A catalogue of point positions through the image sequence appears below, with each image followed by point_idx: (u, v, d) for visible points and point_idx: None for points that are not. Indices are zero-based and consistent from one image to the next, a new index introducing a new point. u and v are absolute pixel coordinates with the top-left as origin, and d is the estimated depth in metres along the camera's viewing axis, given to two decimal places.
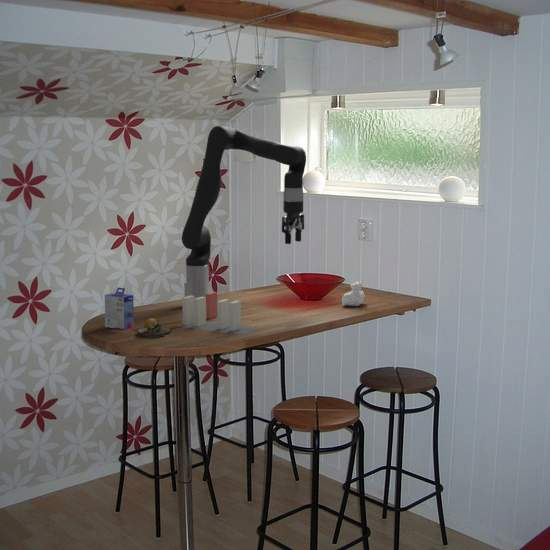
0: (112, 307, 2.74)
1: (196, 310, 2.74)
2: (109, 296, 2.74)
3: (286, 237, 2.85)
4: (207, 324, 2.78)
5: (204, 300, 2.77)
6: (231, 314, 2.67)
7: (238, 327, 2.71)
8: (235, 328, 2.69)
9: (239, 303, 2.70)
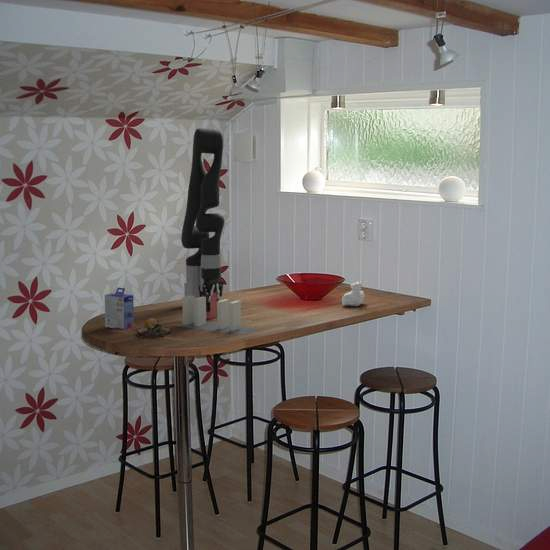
0: (112, 307, 2.74)
1: (196, 310, 2.74)
2: (109, 296, 2.74)
3: None
4: (207, 324, 2.78)
5: (204, 300, 2.77)
6: (231, 314, 2.67)
7: (238, 327, 2.71)
8: (235, 328, 2.69)
9: (239, 303, 2.70)
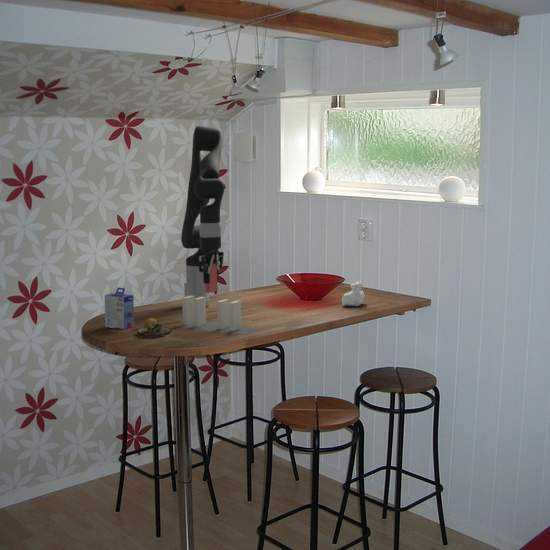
0: (112, 307, 2.74)
1: (196, 310, 2.74)
2: (109, 296, 2.74)
3: (204, 276, 2.69)
4: (207, 324, 2.78)
5: (204, 300, 2.77)
6: (231, 314, 2.67)
7: (238, 327, 2.71)
8: (235, 328, 2.69)
9: (239, 303, 2.70)
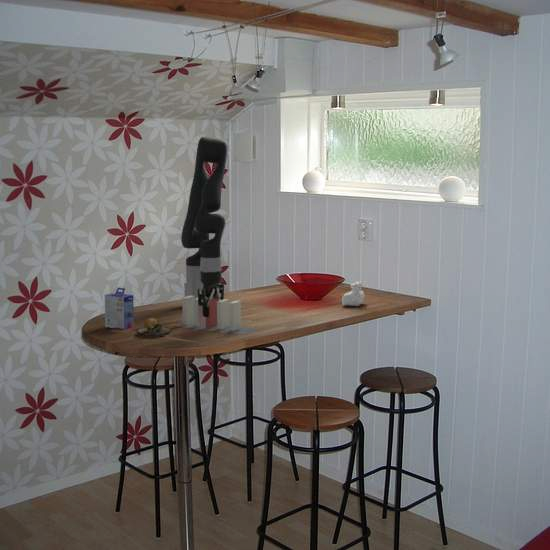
0: (112, 307, 2.74)
1: (196, 310, 2.74)
2: (109, 296, 2.74)
3: (203, 310, 2.70)
4: None
5: None
6: (231, 314, 2.67)
7: (238, 327, 2.71)
8: (235, 328, 2.69)
9: (239, 303, 2.70)
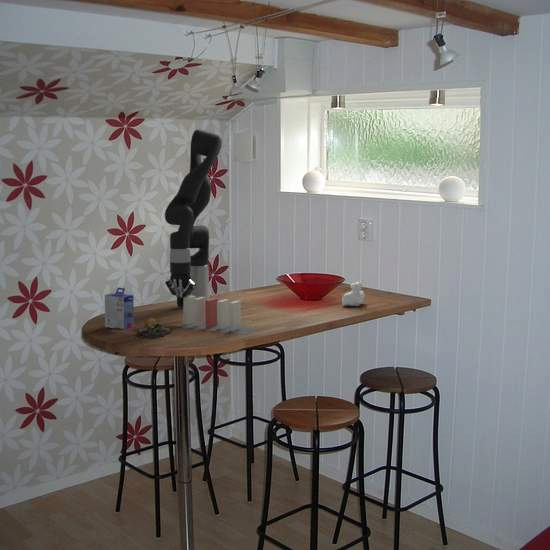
0: (112, 307, 2.74)
1: (196, 310, 2.74)
2: (109, 296, 2.74)
3: None
4: None
5: (204, 300, 2.77)
6: (231, 314, 2.67)
7: (238, 327, 2.71)
8: (235, 328, 2.69)
9: (239, 303, 2.70)
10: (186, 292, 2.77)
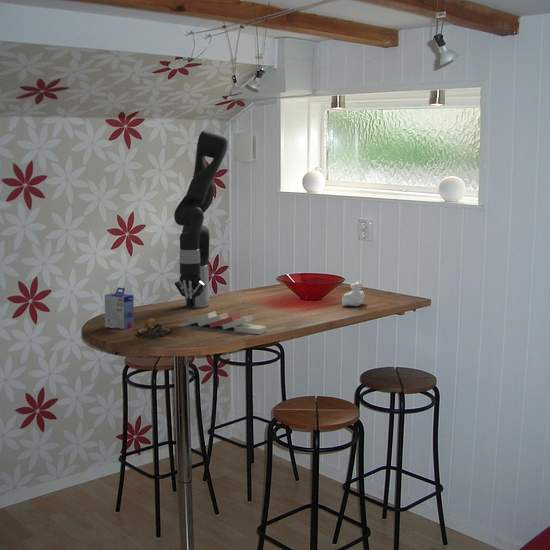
0: (112, 307, 2.74)
1: (211, 320, 2.72)
2: (109, 296, 2.74)
3: None
4: (207, 324, 2.78)
5: None
6: (249, 330, 2.65)
7: None
8: None
9: None
10: (196, 293, 2.75)
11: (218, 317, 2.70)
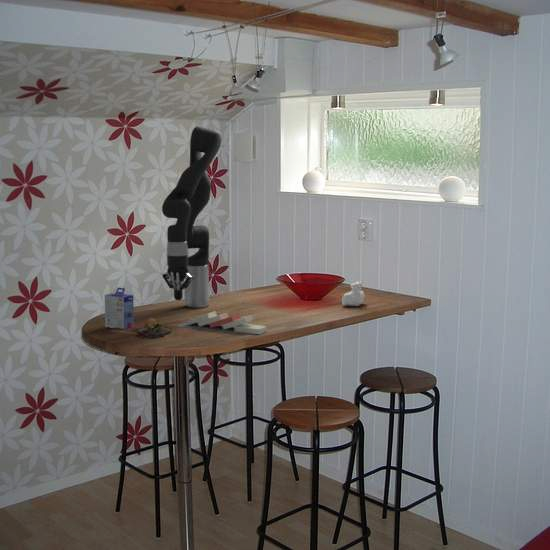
0: (112, 307, 2.74)
1: (211, 320, 2.72)
2: (109, 296, 2.74)
3: None
4: (207, 324, 2.78)
5: None
6: (249, 330, 2.65)
7: None
8: None
9: None
10: (183, 285, 2.78)
11: (218, 317, 2.70)
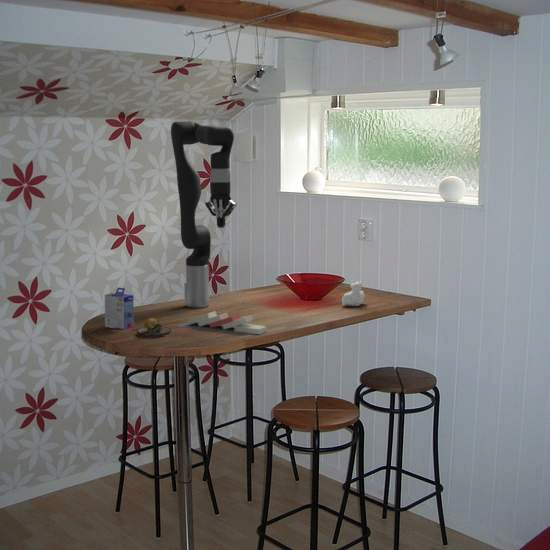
0: (112, 307, 2.74)
1: (211, 320, 2.72)
2: (109, 296, 2.74)
3: None
4: (207, 324, 2.78)
5: None
6: (249, 330, 2.65)
7: None
8: None
9: None
10: (226, 212, 2.82)
11: (218, 317, 2.70)
